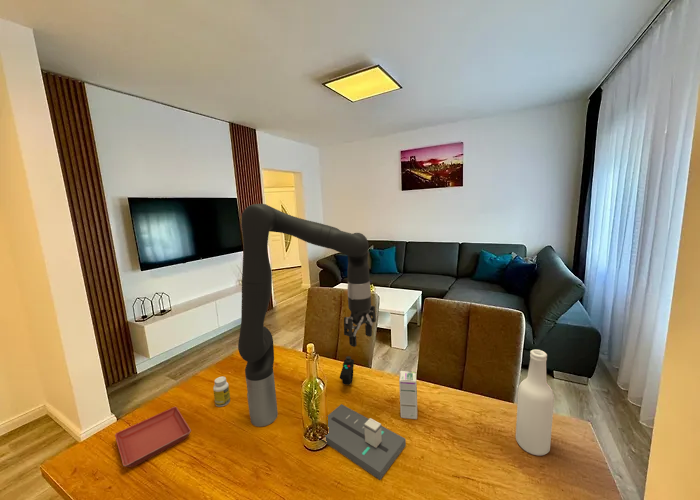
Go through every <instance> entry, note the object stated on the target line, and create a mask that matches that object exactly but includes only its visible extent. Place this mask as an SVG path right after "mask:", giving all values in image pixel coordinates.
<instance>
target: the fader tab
mask: <svg viewBox="0 0 700 500" xmlns="http://www.w3.org/2000/svg"><path fill="white" fill-rule="evenodd" d="M368 419H369V420H368V421H367V422H366V423H365V424H364V428H365V442H367V443H369V444H370V445H372V446H374V447H375V448H376V447H377V446H378V445H379V444H380V443H381V442H382V435H381V426H382V423H380V422H378V421H376V420H375V419H373V418H371V417H370V418H368Z"/></svg>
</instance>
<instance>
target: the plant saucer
mask: <svg viewBox="0 0 700 500" xmlns="http://www.w3.org/2000/svg"><path fill="white" fill-rule="evenodd" d="M191 432H192V429H191V428H190V426H189V424H188V423H187V421H186V420H185V418H184V417H183V415H182V414H181V412H180V410H179V408H178V407H177V406H173V407H170V408H169V409H167V410H164V411H162V412H160V413H157V414H155V415H153V416H150V417H149V418H147V419H144V420H142V421H140V422H137V423H136V424H134V425H130V426H129V427H127V428H124V429H122V430H119V431H118V432H116V433H115V434H114V436H115V441H116V443H117V447H118V452H119V454H120V455H119V456H120V459H121V461H122V462H121V463H122V465H123V467H126V468H134V467H136V466H138V465H139V464H142V463H143V462H145V461H147V460H149V459H151V458H152V457H154V456H156V455H159V454H160V453H162V452H164V451H166V450H167V449H168V450H169V448H171V447H173V446H175V445H177V444H179V443H180V442H182V441H184V440H185V439H186V438H188V437H189V435H190V433H191Z"/></svg>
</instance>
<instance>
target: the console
mask: <svg viewBox="0 0 700 500" xmlns="http://www.w3.org/2000/svg"><path fill="white" fill-rule="evenodd" d="M327 416H328V427H329V433H328V434H327V435H325V437H326V441H327V444H326V445H327V446H329V447H331V448H332V449H333V450H334V451H337V452H338V453H340V454H341V455H343V456H344V457H346V458H347V460H348V459H349V460H350V462H353V463H354V464H355V465H357V466H358V467H360V468H362V469H363V471H366V472H367V473H369V474H370V475H372V477H375V478H376V479H378V480H379V481H381V480H382V478H383V477H384V476H385V475H386V473H387V472H388V470H389V469H390V468H391V467H392V465H393V464H394V462H395V461H396V460H397V458H398V457H399V456H400V454H401V453H402V452H403V450H404V449H405V448H406V444H407V441H406V438H405V437H404V436H401V435H400V434H398V433H395V432H394V431H392V430H391V429H388V428H387V427H385V426H383V425H381V435H382V442H381V443H380V444H379V445H378V446H377V447H376V448H375V447H374V446H372V445H370V444H369V443H367V442H365V428H364V424H365V423H366V422H367V421H368V420H369V419H370V418H368V417H366V416H364V415H363V414H360V413H359V412H357V411H355V410H353V409H351V408H349V407H347V406H346V405H344V404H343V403H341V404H340V405H339V406H337V407H336V408H335V409H334V410H332V411H331V412H330V413H328V415H327Z"/></svg>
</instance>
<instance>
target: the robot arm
mask: <svg viewBox="0 0 700 500" xmlns="http://www.w3.org/2000/svg"><path fill="white" fill-rule="evenodd" d="M270 232H273V233H280V234H283V235H284V234H285V235H289V236H292V237H294V238H297V239H299V240H301V241H304V242H305V243H309V244H311V245H314V246H318V247H321V248H326V249H328V250H329V249H330V250H332V251H336V252H338V253H341V254H343V255H346V256H347V302H348V303H347V304H348V309H349V311H350V316H344V318H343V335H345V336H347V337H348V339H349V340H348V341H349V345H350V346H351V347H353V348H355V347H357V344H358V342H357V335H356V334H357V333H358V331H359V330H360V327H361V326H362V325H364V324H365V325H364V327H365V328H364V329H365V336H367V337H372V336H373V325H374V323H376V321H377V317H376V306H375V305H372V292H371V291H372V290H371V289H372V288H371V287H372V286H371V282H370V268H369V262H368V261H369V259H368V257H369V255H368V254H369V248H370V247H369V241H368V237H366V236H365V235H364V234H363V233H360V232H354V233H350V232H347V231H343V230H341V229H340V228H338V227H335V226H331V225H328V224H325V223H321V222H317V221H312V220H307V219H303V218H301V217H297V216H293V215H291V214H288V213H286V212H283V211H281V210H279V209H277V208H274V207H272V206H270V205H269V204H266V203H253V204H251V205H248V206H247V207H245V208H244V210H243V211H242V214H241V233H242V245H243V246H242V247H243V248H242V249H243V250H242V252H243V253H242V271H241V272H242V273H241V309H240V310H241V317H240V318H241V320H240V321H241V323H240V327H239V328H240V329H239V336H238V343H237V346H238V347H237V348H238V352H239V355H240V357H241V358H242V360H244V361H245V362H246V365H245V368H244V373H245V382H246V390H247V394H246V396H247V404H248V413H249V417H250V423H251V424H252V425H253V426H255V427H259V428H260V427H261V428H262V427H266V426H268V425H270V424H272V423H274V421H276V419H277V418H278V415H279V413H278V403H277V395H276V392H277V391H276V384H275V375H274V374H275V373H274V363H275V349H274V337H273V335H272V333H271V330H270V329H268V327H266V326H264V325H265V324H264V322H265V318H266V314H267V311H268V307H269V305H270V302H271V301H270V300H271V296H272V284H273V273H272V266H271V262H270V259H269V255H268V254H269V253H268V246H269V234H270Z"/></svg>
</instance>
